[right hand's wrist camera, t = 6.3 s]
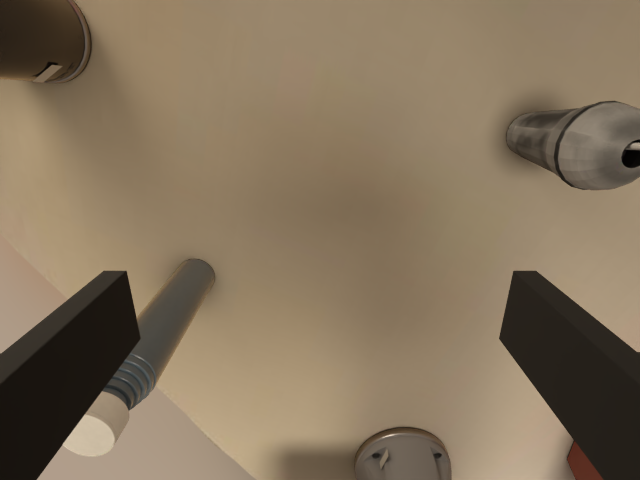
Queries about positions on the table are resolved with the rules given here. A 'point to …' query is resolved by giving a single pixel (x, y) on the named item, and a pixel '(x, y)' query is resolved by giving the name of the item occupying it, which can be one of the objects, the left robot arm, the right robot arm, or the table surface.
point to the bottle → (161, 331)
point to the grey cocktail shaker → (582, 143)
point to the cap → (99, 426)
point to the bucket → (581, 465)
